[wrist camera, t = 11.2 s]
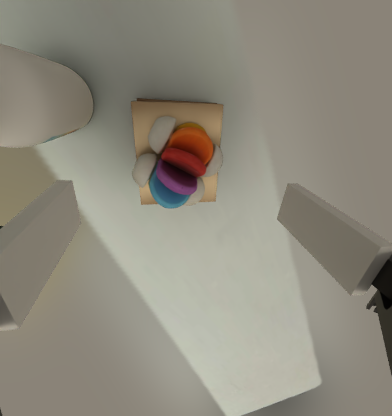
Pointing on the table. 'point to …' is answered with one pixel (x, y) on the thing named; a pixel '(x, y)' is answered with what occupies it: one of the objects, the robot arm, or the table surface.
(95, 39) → the table surface
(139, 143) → the tower top
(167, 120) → the multicoloured petal toy
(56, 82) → the milk bottle
